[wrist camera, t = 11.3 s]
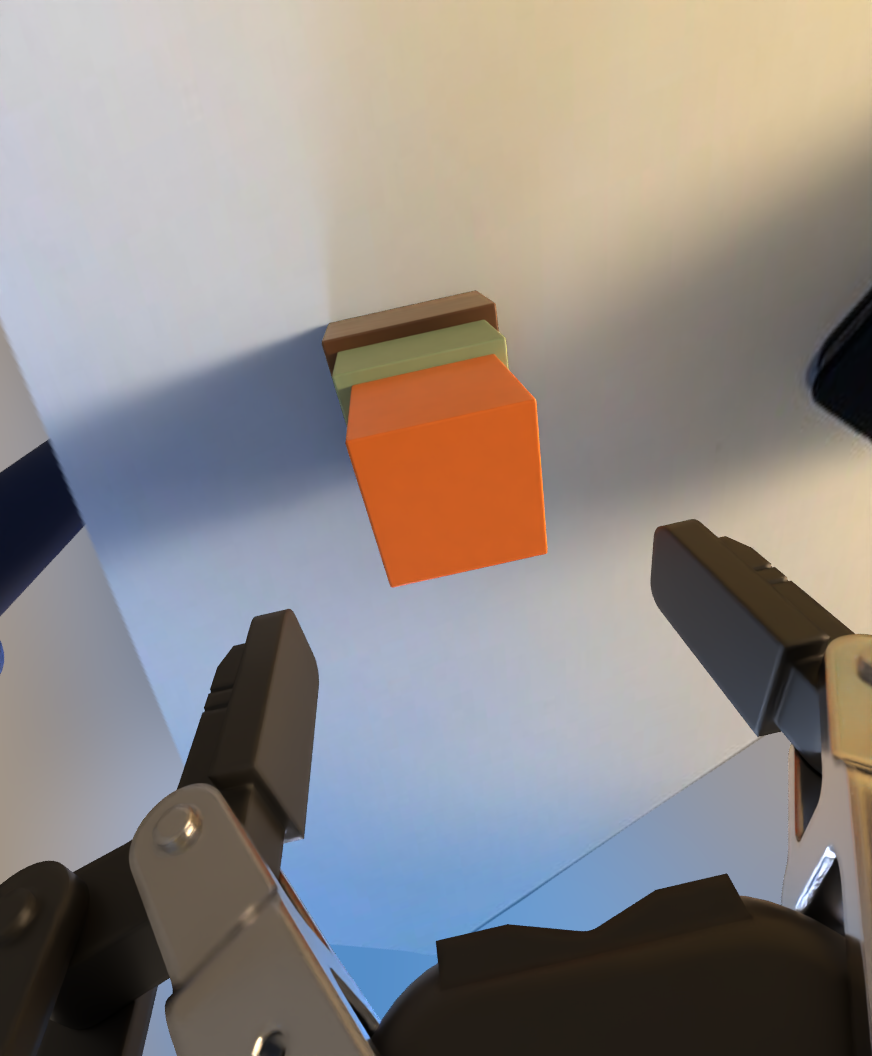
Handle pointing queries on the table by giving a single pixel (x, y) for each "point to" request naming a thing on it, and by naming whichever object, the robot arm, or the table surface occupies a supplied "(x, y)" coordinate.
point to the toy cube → (448, 468)
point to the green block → (414, 355)
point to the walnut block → (407, 322)
